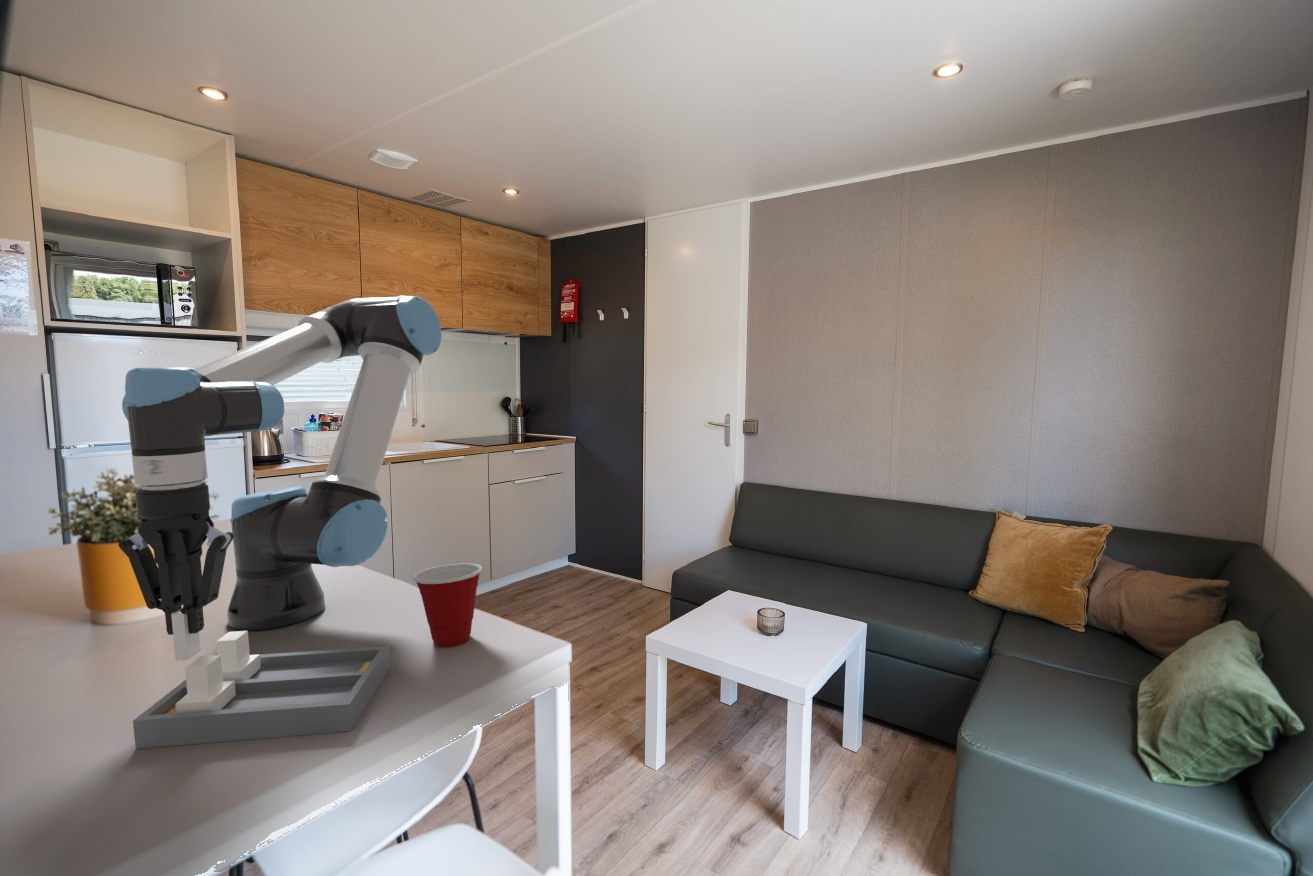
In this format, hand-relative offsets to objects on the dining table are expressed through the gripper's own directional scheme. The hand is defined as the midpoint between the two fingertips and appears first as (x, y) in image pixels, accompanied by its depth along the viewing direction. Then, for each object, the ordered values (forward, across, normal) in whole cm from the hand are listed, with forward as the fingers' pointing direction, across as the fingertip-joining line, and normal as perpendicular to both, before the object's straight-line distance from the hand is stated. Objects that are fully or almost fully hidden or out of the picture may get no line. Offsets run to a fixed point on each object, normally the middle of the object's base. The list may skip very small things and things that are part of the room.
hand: (188, 655), depth 81 cm
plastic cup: (+6, +32, +14) cm, 35 cm away
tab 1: (+4, +6, -7) cm, 10 cm away
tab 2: (+4, +6, 0) cm, 7 cm away
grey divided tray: (+6, +13, -4) cm, 14 cm away
